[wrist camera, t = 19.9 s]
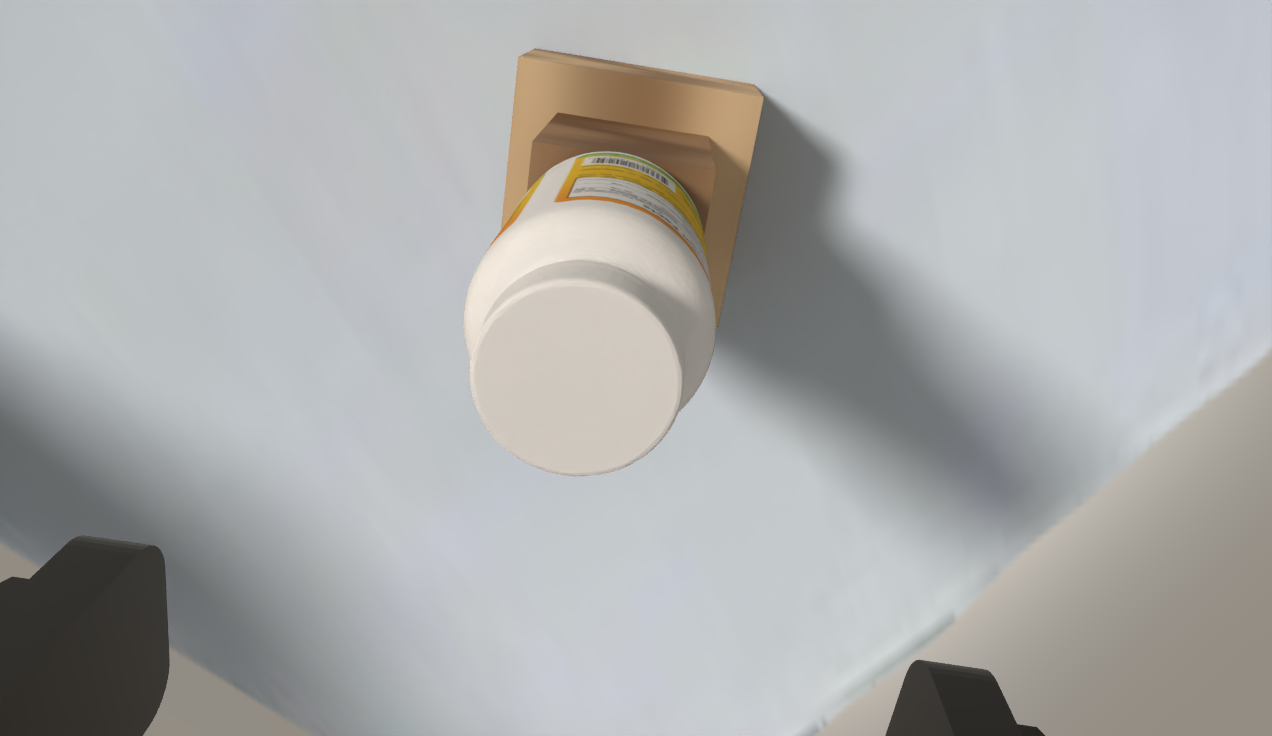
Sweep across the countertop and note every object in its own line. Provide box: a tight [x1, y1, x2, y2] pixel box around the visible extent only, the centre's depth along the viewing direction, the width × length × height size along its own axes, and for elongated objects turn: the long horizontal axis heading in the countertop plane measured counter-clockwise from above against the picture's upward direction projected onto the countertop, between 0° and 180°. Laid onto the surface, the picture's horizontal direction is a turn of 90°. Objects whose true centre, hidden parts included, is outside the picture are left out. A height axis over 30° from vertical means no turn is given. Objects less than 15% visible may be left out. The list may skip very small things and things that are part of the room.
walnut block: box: [527, 112, 716, 234], centre depth 29 cm, size 5×5×6 cm
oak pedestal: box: [501, 49, 764, 327], centre depth 33 cm, size 8×8×4 cm
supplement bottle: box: [464, 151, 716, 476], centre depth 22 cm, size 5×5×10 cm
